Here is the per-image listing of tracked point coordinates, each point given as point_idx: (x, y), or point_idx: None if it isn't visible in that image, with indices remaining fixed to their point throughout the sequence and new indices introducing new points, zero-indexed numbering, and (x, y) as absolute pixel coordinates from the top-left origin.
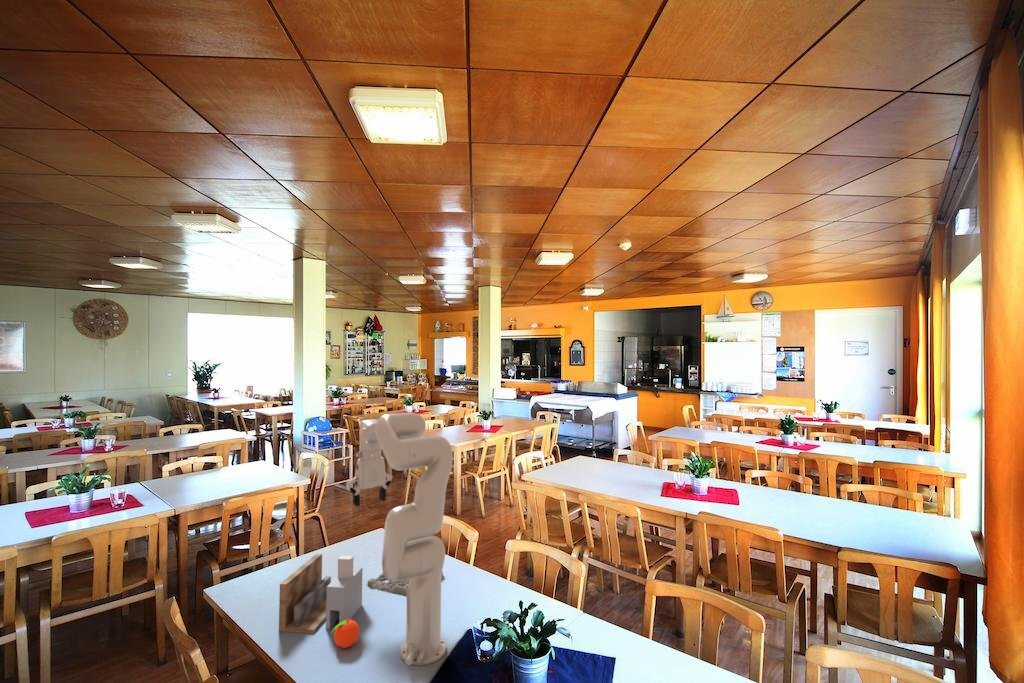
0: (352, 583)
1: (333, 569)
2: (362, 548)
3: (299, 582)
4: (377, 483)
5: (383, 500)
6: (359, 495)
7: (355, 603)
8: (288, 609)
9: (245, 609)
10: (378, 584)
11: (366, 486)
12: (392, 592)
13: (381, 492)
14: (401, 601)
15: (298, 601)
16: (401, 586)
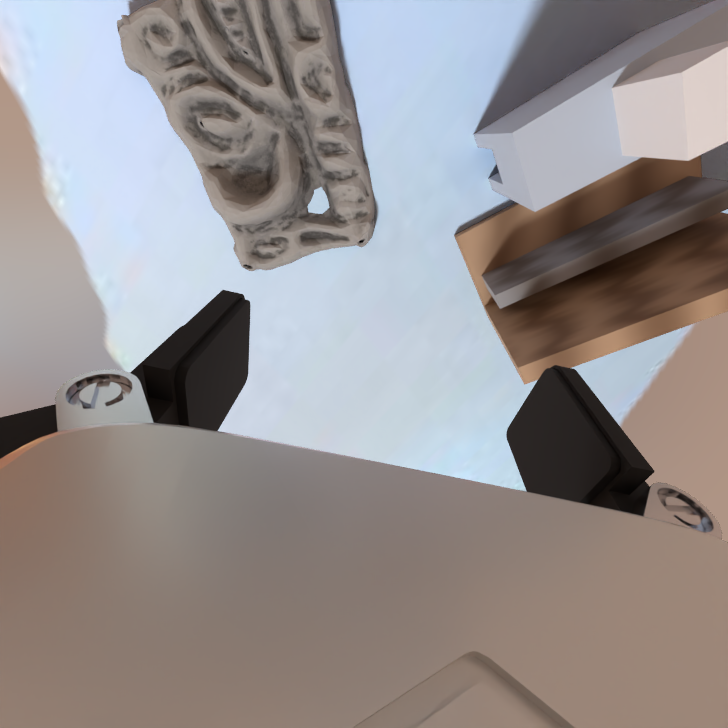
0: (629, 58)
1: (366, 389)
2: (245, 422)
3: (687, 278)
4: (314, 521)
5: (243, 299)
6: (615, 462)
7: (541, 96)
8: (723, 226)
9: (616, 385)
10: (360, 190)
11: (678, 562)
12: (353, 107)
13: (210, 393)
14: (377, 3)
15: (647, 256)
16: (322, 81)
